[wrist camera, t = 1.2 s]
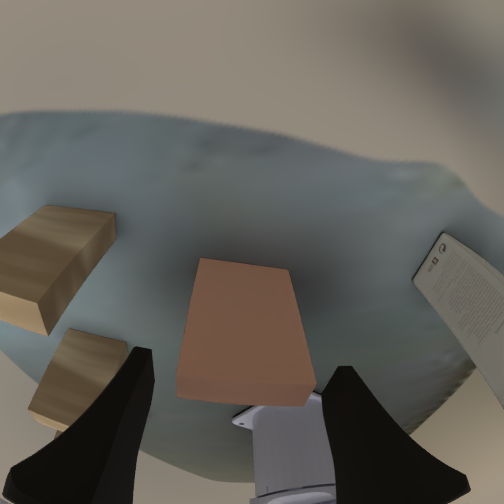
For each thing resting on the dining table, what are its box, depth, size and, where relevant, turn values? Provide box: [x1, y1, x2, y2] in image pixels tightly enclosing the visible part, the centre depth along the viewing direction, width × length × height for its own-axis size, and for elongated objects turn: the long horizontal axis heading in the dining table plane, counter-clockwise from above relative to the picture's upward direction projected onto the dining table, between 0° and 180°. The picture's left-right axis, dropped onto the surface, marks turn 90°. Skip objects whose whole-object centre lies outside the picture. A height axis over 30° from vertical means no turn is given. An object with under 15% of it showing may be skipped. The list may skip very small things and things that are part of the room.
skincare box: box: [413, 233, 504, 409], centre depth 12 cm, size 6×4×12 cm
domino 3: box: [176, 258, 317, 407], centre depth 13 cm, size 2×5×8 cm, turn 80°
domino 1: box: [0, 205, 116, 336], centre depth 11 cm, size 2×5×8 cm, turn 80°
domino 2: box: [28, 328, 128, 432], centre depth 16 cm, size 2×5×8 cm, turn 80°
